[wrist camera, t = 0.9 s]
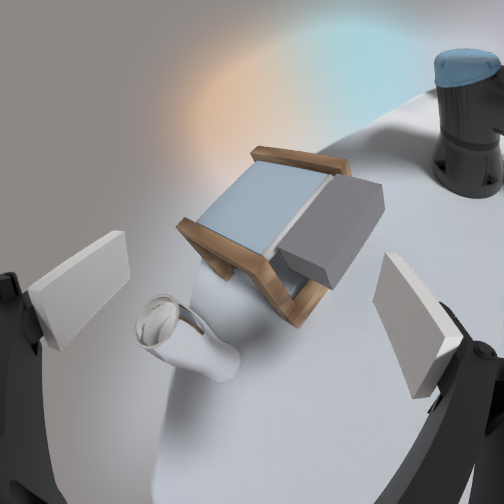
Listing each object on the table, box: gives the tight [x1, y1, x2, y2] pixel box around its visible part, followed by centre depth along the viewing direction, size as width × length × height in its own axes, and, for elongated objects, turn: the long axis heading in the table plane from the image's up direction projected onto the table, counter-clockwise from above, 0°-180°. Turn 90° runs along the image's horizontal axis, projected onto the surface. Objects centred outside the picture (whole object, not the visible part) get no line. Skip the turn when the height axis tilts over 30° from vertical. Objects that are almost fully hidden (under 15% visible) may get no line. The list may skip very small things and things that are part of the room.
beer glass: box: [133, 294, 241, 383], centre depth 34 cm, size 7×7×15 cm
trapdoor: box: [196, 161, 385, 290], centre depth 35 cm, size 14×22×4 cm, turn 45°
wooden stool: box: [176, 146, 352, 329], centre depth 42 cm, size 19×19×14 cm
